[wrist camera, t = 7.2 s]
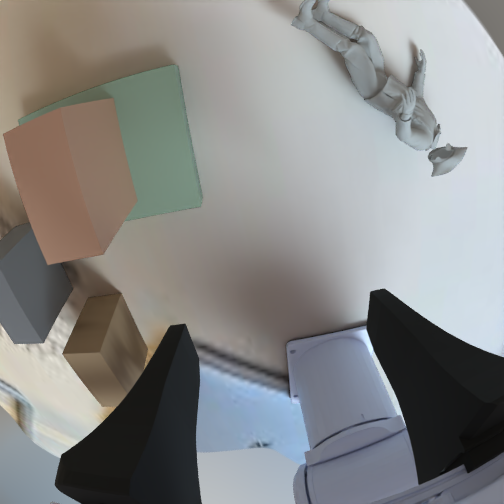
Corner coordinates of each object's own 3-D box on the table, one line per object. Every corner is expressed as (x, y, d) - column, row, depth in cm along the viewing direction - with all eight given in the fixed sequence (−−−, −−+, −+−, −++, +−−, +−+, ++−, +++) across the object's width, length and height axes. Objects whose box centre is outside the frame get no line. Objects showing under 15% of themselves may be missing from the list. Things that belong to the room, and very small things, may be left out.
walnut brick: (147, 348, 25) (136, 406, 19) (117, 350, 25) (102, 406, 19) (121, 292, 22) (99, 352, 16) (88, 297, 22) (62, 353, 16)
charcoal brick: (73, 288, 21) (43, 343, 16) (45, 292, 21) (14, 343, 16) (43, 218, 18) (-2, 263, 13) (15, 226, 18) (-30, 270, 13)
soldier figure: (343, -16, 13) (490, 106, 14) (313, 35, 18) (445, 142, 18) (289, -1, 10) (498, 175, 11) (255, 73, 14) (432, 214, 15)
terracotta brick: (137, 200, 17) (103, 254, 12) (92, 211, 17) (47, 264, 11) (113, 97, 14) (60, 107, 8) (66, 114, 14) (2, 134, 8)
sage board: (202, 197, 19) (201, 206, 17) (63, 227, 18) (54, 237, 17) (178, 66, 15) (173, 64, 13) (30, 116, 14) (18, 120, 13)
